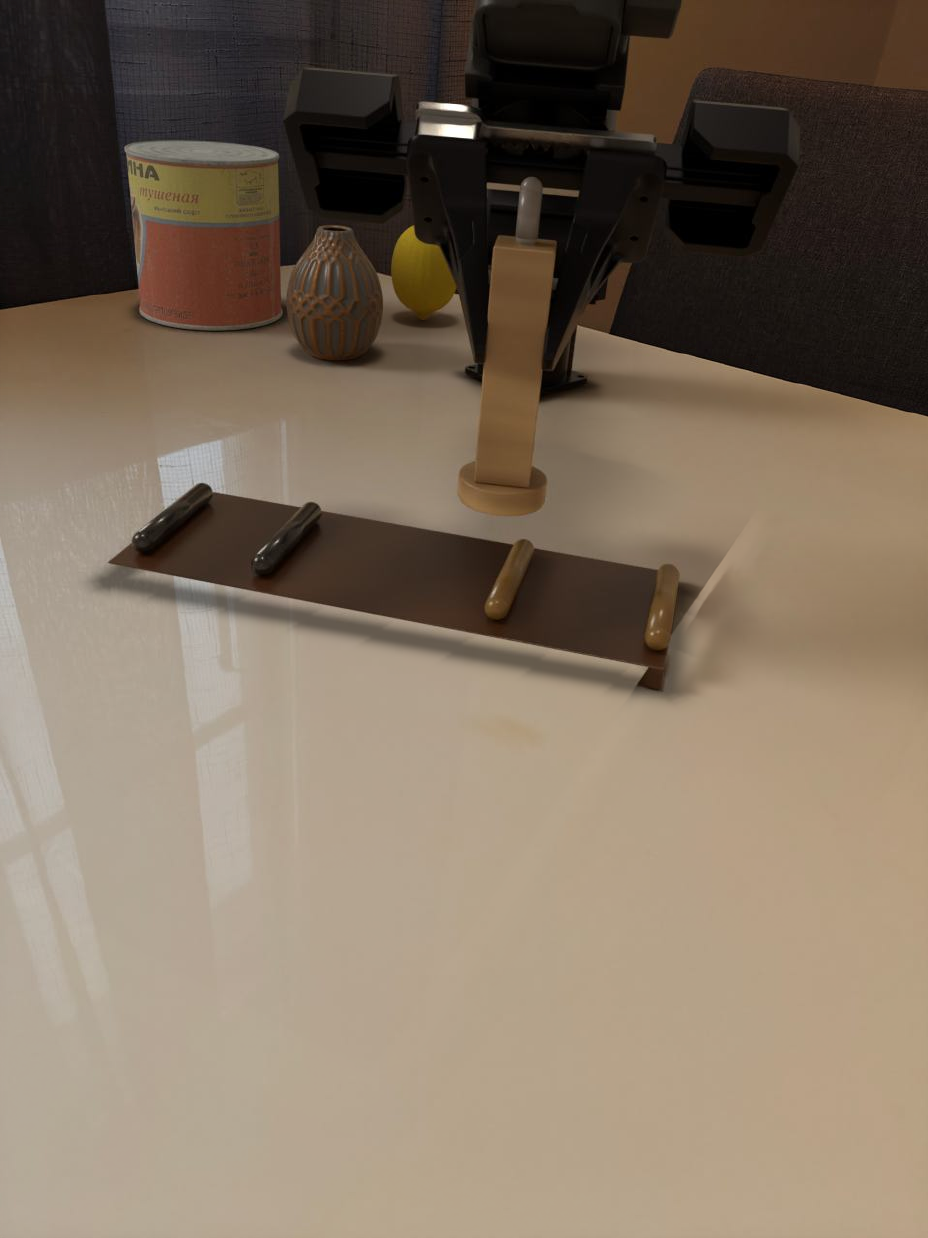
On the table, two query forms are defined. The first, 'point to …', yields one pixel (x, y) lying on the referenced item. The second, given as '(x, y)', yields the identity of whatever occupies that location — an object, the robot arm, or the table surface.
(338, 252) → the vase
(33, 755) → the table surface
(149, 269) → the canned food
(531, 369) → the wooden tall post
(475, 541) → the board
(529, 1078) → the table surface
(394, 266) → the lemon
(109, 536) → the table surface
